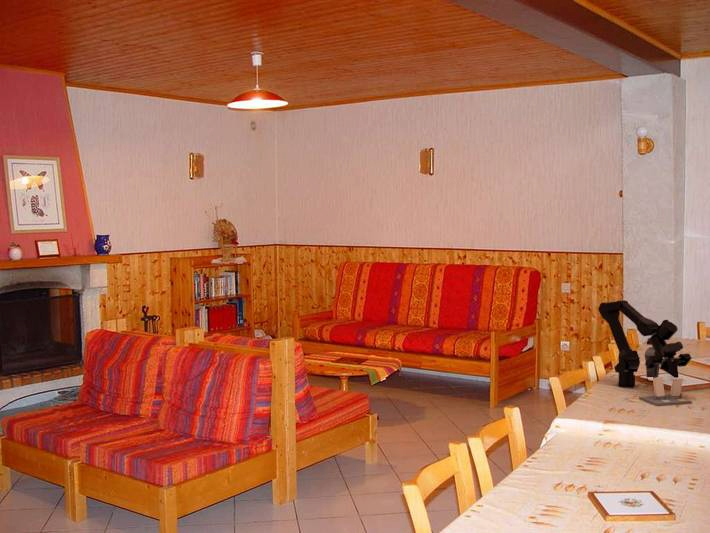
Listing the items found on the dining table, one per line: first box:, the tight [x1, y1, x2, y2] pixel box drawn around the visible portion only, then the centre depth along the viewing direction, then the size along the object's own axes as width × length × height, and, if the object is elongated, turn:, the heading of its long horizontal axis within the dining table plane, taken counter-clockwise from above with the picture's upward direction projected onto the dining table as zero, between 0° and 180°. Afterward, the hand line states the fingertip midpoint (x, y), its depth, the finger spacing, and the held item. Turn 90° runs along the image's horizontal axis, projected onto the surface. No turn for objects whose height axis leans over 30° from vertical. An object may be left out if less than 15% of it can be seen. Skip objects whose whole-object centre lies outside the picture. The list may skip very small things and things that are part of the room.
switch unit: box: [638, 392, 693, 407], centre depth 336 cm, size 12×16×3 cm
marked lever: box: [669, 376, 684, 397], centre depth 336 cm, size 1×4×8 cm, turn 104°
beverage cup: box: [644, 346, 660, 378], centre depth 374 cm, size 7×7×20 cm
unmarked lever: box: [652, 376, 666, 398], centre depth 336 cm, size 1×4×8 cm, turn 104°
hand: (677, 377), depth 335 cm, fingers closed, pressing on marked lever
